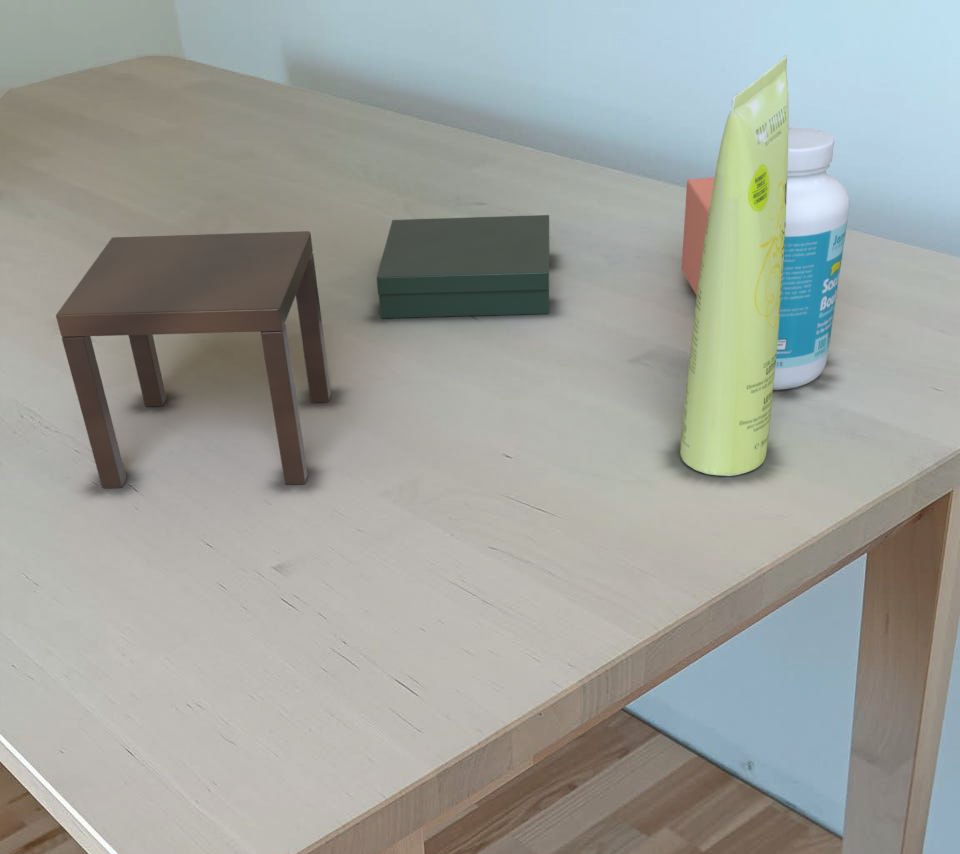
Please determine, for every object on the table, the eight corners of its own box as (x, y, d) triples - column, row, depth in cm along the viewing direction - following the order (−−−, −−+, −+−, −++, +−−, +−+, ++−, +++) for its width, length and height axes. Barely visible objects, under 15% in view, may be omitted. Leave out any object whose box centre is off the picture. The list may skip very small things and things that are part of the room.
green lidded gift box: (380, 320, 91) (376, 277, 88) (395, 260, 99) (392, 219, 97) (548, 316, 90) (548, 272, 88) (549, 256, 98) (549, 214, 96)
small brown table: (101, 488, 74) (54, 315, 67) (149, 398, 83) (111, 236, 76) (305, 484, 73) (278, 308, 67) (331, 394, 82) (310, 230, 75)
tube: (784, 476, 72) (837, 81, 58) (699, 489, 71) (732, 93, 57) (746, 432, 76) (787, 54, 62) (665, 445, 75) (689, 65, 61)
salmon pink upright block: (710, 337, 86) (720, 206, 80) (674, 273, 95) (682, 151, 89) (823, 328, 86) (842, 197, 81) (778, 265, 95) (792, 143, 89)
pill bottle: (836, 393, 79) (873, 153, 70) (716, 398, 79) (737, 160, 70) (812, 344, 84) (844, 116, 75) (700, 349, 85) (718, 122, 75)
